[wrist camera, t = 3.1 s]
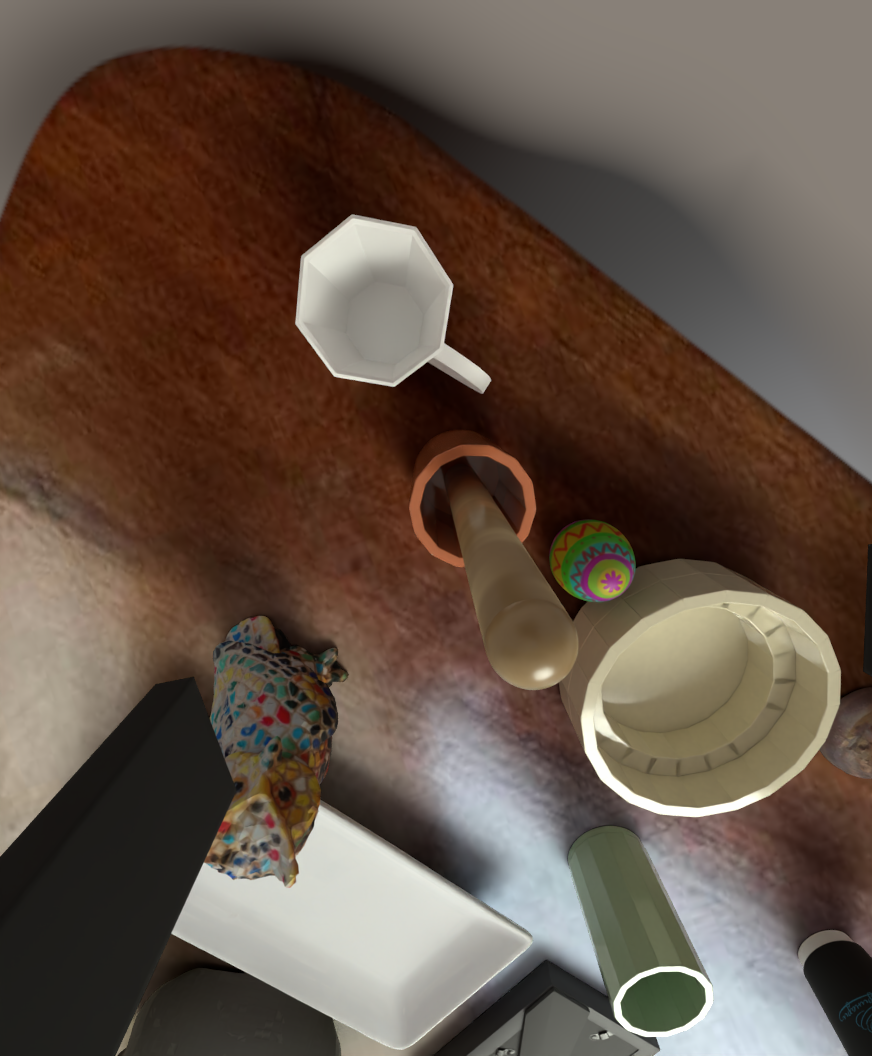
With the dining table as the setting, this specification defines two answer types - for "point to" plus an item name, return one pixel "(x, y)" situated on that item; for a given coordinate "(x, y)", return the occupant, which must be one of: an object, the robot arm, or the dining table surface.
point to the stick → (509, 591)
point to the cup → (378, 305)
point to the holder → (493, 470)
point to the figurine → (271, 747)
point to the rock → (228, 1020)
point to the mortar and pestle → (852, 735)
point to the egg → (592, 560)
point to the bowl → (699, 689)
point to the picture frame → (550, 1022)
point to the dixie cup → (841, 986)
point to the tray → (356, 932)
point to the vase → (637, 935)
